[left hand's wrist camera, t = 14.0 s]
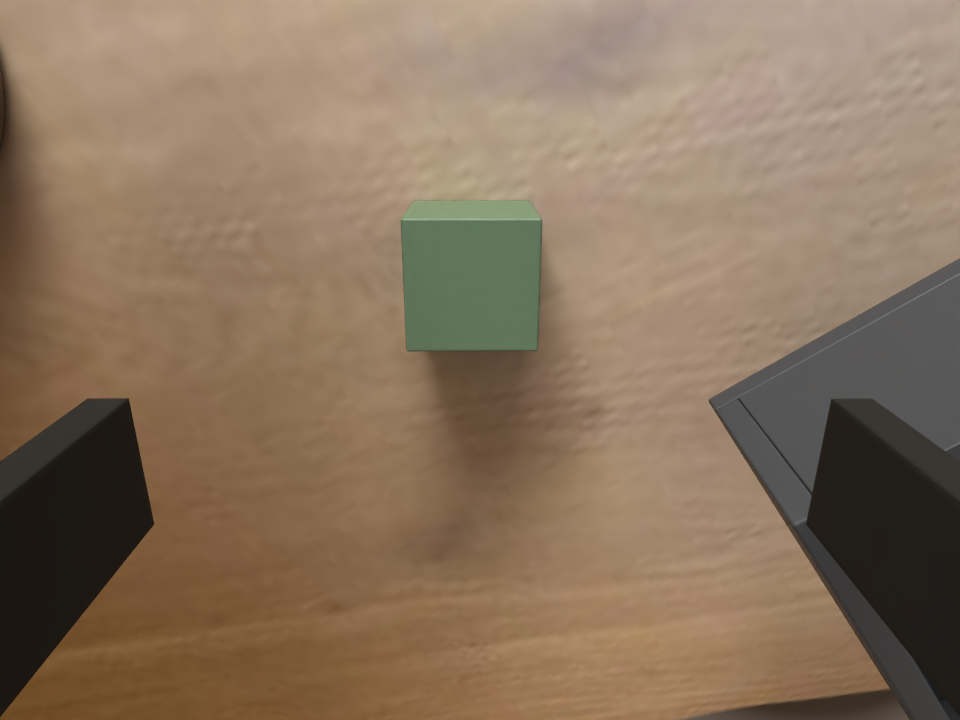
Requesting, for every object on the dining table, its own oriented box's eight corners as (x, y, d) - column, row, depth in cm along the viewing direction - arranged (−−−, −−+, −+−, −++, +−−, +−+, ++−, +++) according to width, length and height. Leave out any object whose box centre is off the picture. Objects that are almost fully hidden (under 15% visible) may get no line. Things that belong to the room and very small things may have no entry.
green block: (417, 313, 30) (406, 352, 25) (413, 200, 28) (400, 218, 23) (528, 313, 30) (538, 351, 25) (531, 200, 28) (542, 218, 23)
